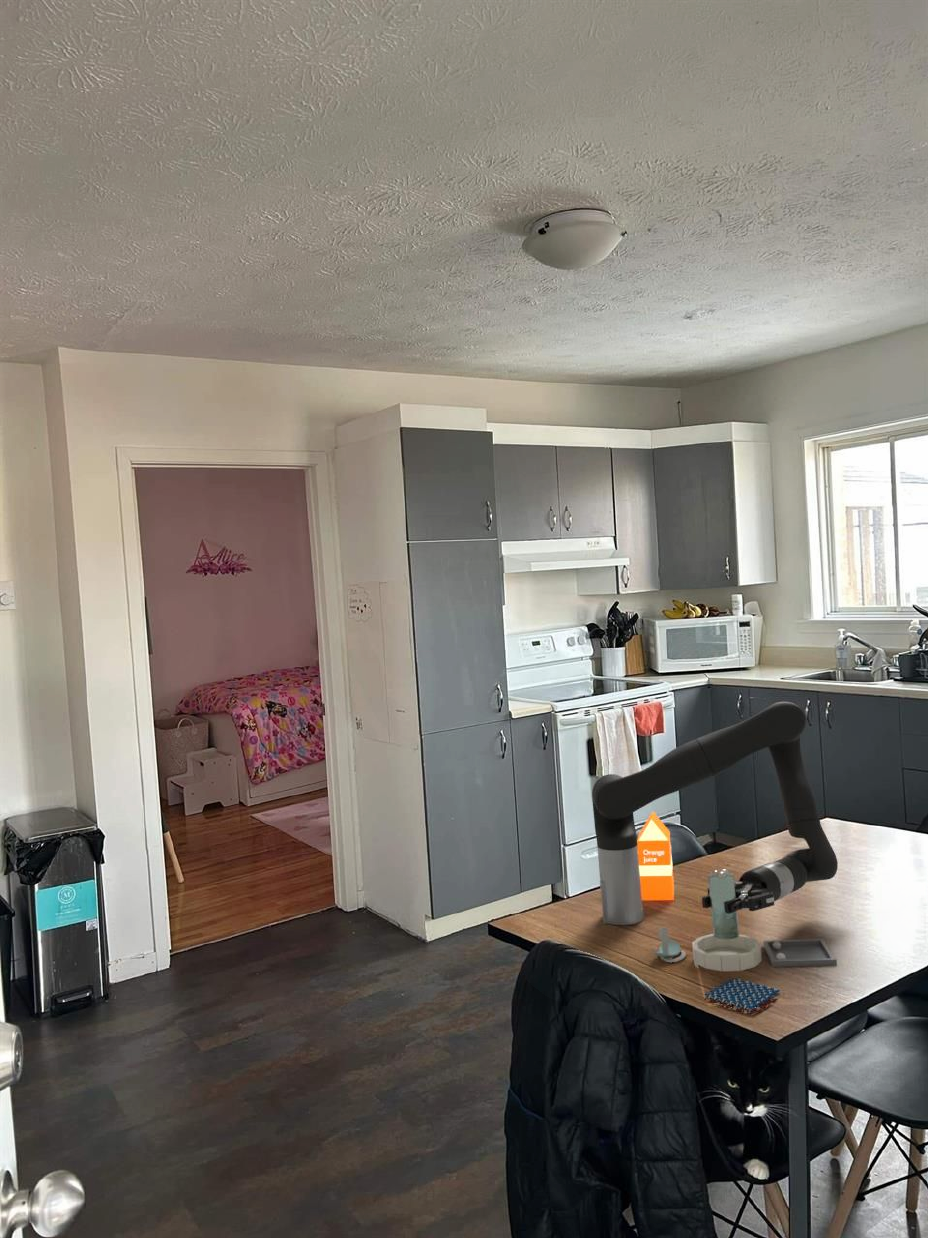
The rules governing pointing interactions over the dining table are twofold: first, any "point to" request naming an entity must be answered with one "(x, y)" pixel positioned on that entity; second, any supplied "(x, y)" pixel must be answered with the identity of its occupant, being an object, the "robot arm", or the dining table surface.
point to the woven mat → (743, 996)
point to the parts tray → (799, 953)
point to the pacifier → (668, 947)
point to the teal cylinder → (722, 904)
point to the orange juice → (655, 860)
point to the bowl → (726, 953)
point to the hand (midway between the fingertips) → (715, 906)
